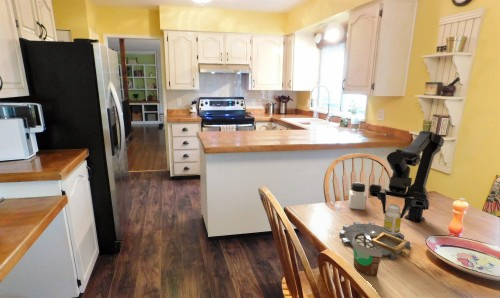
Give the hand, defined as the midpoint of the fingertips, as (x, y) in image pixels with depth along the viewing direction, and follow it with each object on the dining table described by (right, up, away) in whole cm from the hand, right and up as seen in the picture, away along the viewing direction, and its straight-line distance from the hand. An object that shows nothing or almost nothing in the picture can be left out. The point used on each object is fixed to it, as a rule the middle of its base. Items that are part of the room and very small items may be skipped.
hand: (392, 215), depth 102 cm
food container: (-15, -16, -8) cm, 23 cm away
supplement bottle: (+1, -6, +3) cm, 7 cm away
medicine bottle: (+2, -5, +40) cm, 40 cm away
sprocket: (-3, -12, +8) cm, 15 cm away
